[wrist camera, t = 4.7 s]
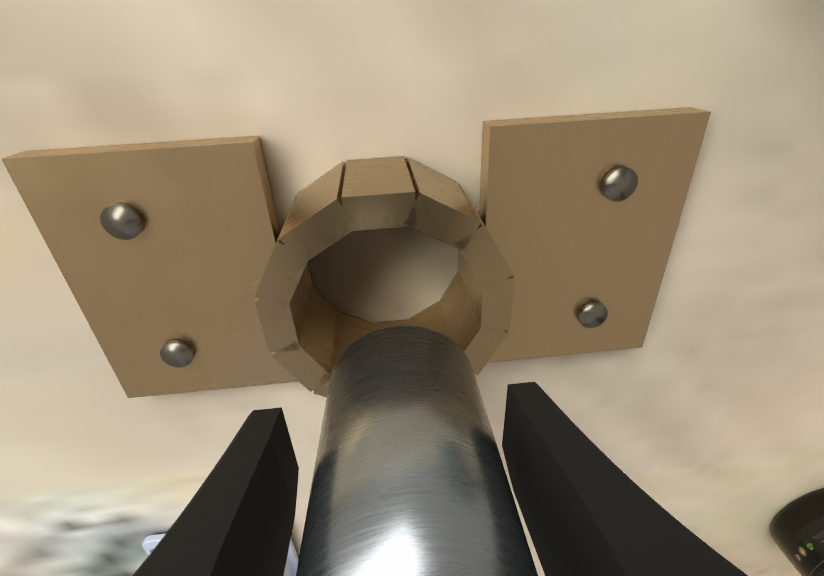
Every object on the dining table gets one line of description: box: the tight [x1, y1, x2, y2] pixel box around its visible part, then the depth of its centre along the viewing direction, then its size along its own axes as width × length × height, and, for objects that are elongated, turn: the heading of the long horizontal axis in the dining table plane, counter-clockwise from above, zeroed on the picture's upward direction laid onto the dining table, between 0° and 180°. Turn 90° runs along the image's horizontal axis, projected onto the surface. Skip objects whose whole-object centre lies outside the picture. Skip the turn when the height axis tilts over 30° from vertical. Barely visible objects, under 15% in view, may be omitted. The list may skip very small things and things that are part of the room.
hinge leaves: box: [2, 108, 711, 398], centre depth 15 cm, size 10×23×4 cm, turn 93°
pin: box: [296, 326, 538, 576], centre depth 8 cm, size 5×5×8 cm
